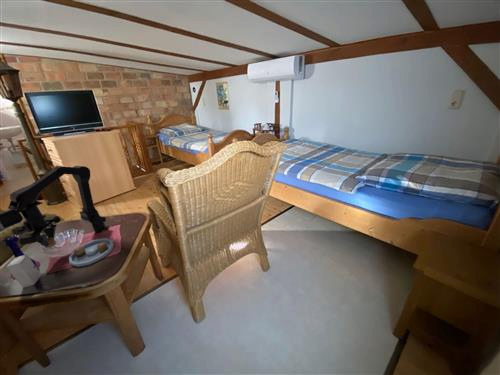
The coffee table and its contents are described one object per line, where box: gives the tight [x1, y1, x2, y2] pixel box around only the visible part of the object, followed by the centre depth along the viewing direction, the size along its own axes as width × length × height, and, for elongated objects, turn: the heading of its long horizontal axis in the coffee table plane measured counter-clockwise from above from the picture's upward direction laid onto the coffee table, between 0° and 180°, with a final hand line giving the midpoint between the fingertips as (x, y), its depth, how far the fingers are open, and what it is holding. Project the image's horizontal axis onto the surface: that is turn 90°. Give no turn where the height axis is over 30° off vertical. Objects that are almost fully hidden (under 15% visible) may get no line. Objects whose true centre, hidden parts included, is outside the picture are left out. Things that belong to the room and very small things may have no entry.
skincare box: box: [6, 254, 42, 288], centre depth 88 cm, size 6×4×12 cm
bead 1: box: [44, 237, 57, 249], centre depth 101 cm, size 4×4×4 cm
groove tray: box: [68, 237, 115, 268], centre depth 104 cm, size 18×18×3 cm
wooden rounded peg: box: [97, 242, 108, 253], centre depth 104 cm, size 4×4×4 cm
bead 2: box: [72, 245, 86, 257], centre depth 102 cm, size 4×4×4 cm
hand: (49, 243), depth 101 cm, fingers closed on bead 1, 4 cm apart
